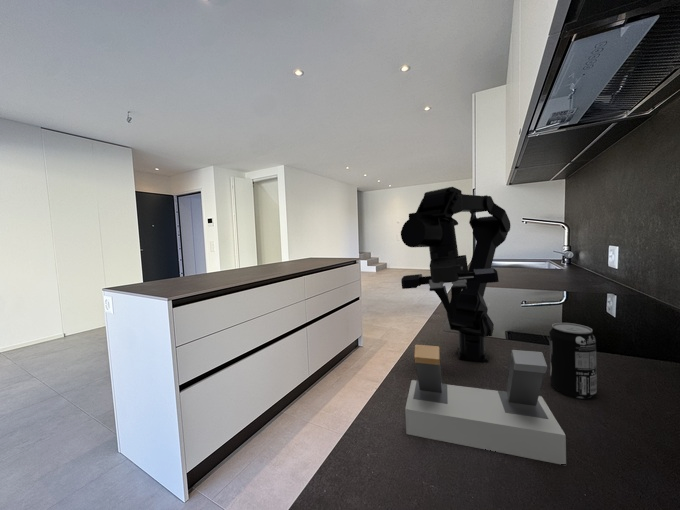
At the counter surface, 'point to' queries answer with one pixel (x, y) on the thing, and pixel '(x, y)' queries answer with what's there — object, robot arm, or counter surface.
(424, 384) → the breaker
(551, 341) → the beverage can
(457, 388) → the grey mounting base
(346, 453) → the counter surface
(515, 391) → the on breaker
